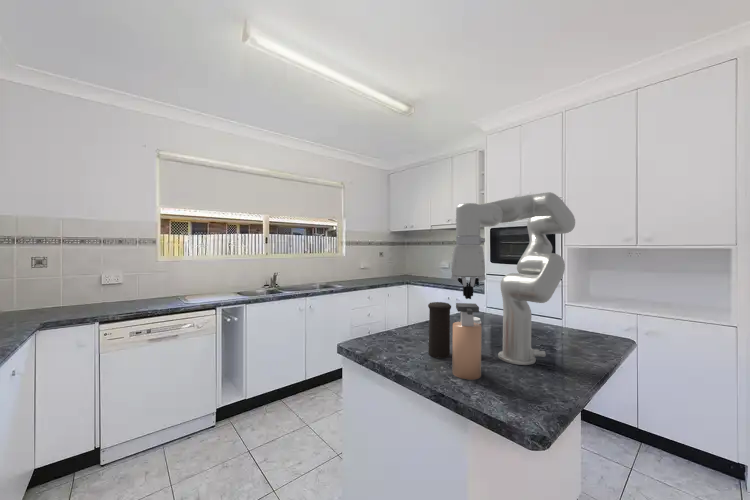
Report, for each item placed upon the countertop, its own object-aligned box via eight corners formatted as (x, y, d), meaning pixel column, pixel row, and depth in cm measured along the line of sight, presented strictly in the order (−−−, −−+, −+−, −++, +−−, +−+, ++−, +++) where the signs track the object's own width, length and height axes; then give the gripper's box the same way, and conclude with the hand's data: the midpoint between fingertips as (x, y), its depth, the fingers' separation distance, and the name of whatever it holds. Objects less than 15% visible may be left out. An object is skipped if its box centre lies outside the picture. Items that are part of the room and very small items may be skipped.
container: (449, 351, 125) (449, 300, 125) (452, 359, 116) (452, 305, 116) (426, 350, 126) (427, 300, 126) (428, 358, 117) (429, 304, 117)
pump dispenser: (478, 369, 107) (479, 308, 107) (483, 380, 98) (484, 314, 98) (451, 367, 108) (451, 307, 108) (453, 378, 99) (454, 313, 99)
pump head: (475, 322, 106) (475, 303, 105) (480, 330, 96) (481, 309, 95) (455, 321, 107) (456, 302, 106) (459, 329, 97) (459, 308, 96)
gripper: (489, 241, 105) (489, 296, 106) (443, 242, 107) (443, 295, 108) (494, 241, 98) (494, 301, 98) (445, 242, 100) (445, 299, 100)
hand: (468, 298), depth 103 cm, fingers closed
